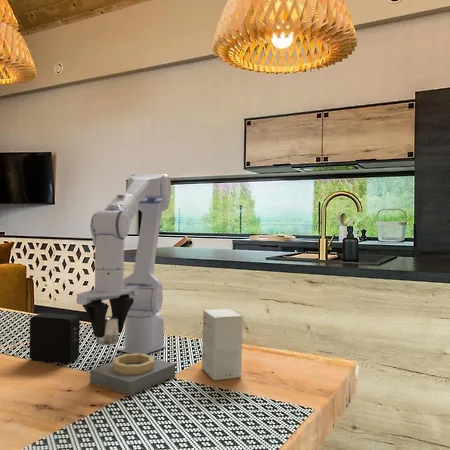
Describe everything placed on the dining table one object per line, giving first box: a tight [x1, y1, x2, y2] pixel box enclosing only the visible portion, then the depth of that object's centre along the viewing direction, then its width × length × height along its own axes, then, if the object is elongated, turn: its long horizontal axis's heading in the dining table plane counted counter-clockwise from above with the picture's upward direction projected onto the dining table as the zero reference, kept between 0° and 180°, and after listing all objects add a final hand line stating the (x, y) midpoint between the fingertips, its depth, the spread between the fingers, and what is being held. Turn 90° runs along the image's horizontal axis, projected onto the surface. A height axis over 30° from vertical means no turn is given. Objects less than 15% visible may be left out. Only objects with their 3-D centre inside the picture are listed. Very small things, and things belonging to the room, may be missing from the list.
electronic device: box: [29, 312, 81, 365], centre depth 105 cm, size 4×10×10 cm, turn 78°
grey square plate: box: [89, 353, 176, 396], centre depth 94 cm, size 13×11×4 cm
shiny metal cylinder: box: [95, 315, 119, 346], centre depth 95 cm, size 4×4×5 cm
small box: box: [201, 308, 243, 381], centre depth 99 cm, size 8×6×13 cm
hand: (108, 334), depth 95 cm, fingers closed on shiny metal cylinder, 4 cm apart
